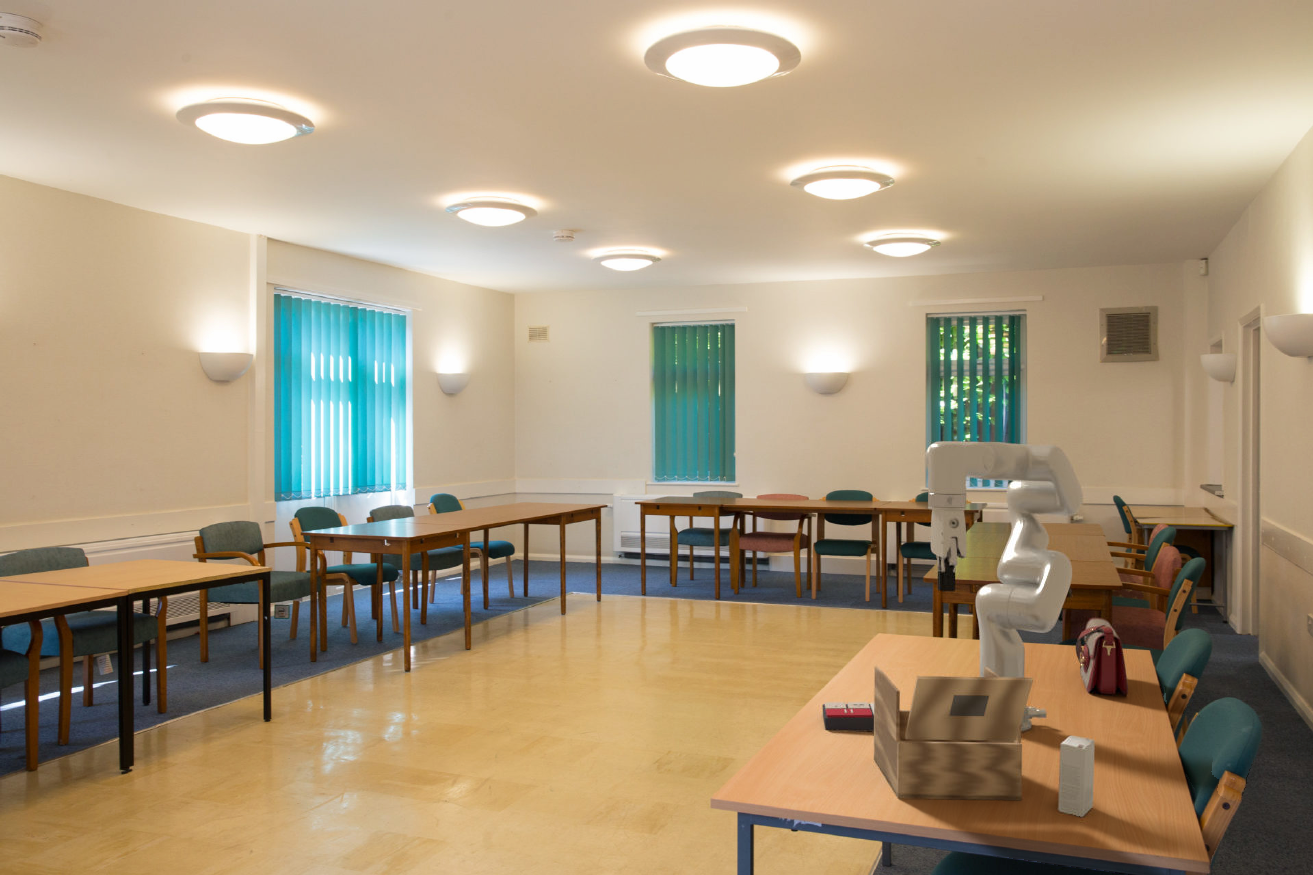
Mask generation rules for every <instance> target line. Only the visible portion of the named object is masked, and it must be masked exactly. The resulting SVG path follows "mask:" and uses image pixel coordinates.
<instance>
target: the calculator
mask: <svg viewBox="0 0 1313 875" xmlns="http://www.w3.org/2000/svg"><path fill="white" fill-rule="evenodd" d="M822 718H823V723H824V724H823V725H824V730H826V731H837V732H838V731H839V732H840V731H842V732H874V702H870V703H869V702H868V701H864V702H863V701H858V702H857V701H855V702H854V701H851V702H850V701H849V702H847V703H846V702H838V701H835V702H826V701H825V702H824V703H823V704H822Z"/></svg>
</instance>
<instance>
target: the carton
mask: <svg viewBox="0 0 1313 875" xmlns="http://www.w3.org/2000/svg"><path fill="white" fill-rule="evenodd" d="M984 677H1000V676H998V675H997V674H996V673H994V672H993V671H991V670H990V669H989V668H987V667H984ZM873 690H874V694H873V695H874V696H873V698H874V700H873V703H874V731H873V760H874V762H875V764H876V766H877V767H878V769H879V771H880V772H881V773H882V775H883V777H884V778H885V780H886V782H887V783H888V785H889V786H890V788H891V789H892V791H893V793H894V794H895V796H896V798H897V799H904V800H905V799H906V800H907V799H910V800H911V799H913V800H914V799H915V800H970V801H971V800H975V801H976V800H977V801H980V800H982V801H984V800H985V801H986V800H987V801H1022V794H1023V793H1022V788H1023V787H1022V785H1023V784H1022V782H1023V781H1022V779H1023V778H1022V777H1023V776H1022V775H1023V772H1022V770H1023V768H1022V767H1023V764H1022V763H1023V744H1022V732H1021V724H1020V728H1019V731H1018V735H1017V738H1016V741H1003V740H928V739H905V734H906V729H907V724H908V718H909V713H910V709H901V708H900V706H901V704H900V702H901V701H900V698H901V696H900V695H901V693H900V692H901V690H900V689H898V687H897V686H896V685H895V684H894V683H893V682H892V681H891V679H890V678H889V677H888V676H887V675H886V674H885V672H883V670H882V669H881V668H880V667H879V666H878V665H875V666H874V689H873Z"/></svg>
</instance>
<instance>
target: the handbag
mask: <svg viewBox="0 0 1313 875" xmlns="http://www.w3.org/2000/svg"><path fill="white" fill-rule="evenodd" d="M1082 639H1083V642H1084V643H1083V644H1084V645H1083V646H1082V643H1081V640H1082ZM1082 647H1083V648H1082ZM1075 654H1076V657H1077V660H1078V662H1079V665H1080V666H1079V669H1080V670H1079V673H1080V677H1081V679H1082V681H1083V684H1085V685H1084V687H1085V690H1086V692H1088V693H1090V692H1091V691H1092V690H1093V689H1094V688H1095V687H1096V689H1097V691H1098V693H1099V694H1102V695H1115V693H1116V692H1117V688H1118V689H1119V690H1120V691H1121V692H1122V693H1123V695H1124V696H1125V697H1127V696H1128V693H1129V685H1128V677H1127V676H1128V675H1127V669H1126V664H1125V663H1126V662H1125V655H1124V650H1123V645H1122V641H1121V638H1120V637H1119V636H1118V634H1117V633H1116V630H1115V629H1114V628H1113V627H1112V625H1111V624H1110V622H1109V621H1108V620H1106V619H1105V618H1100V617H1092V618H1090V619H1089V620H1088V621H1087V622H1086V624H1085V630H1083V631H1081V633H1080V635H1079V636H1078V638H1077V641H1076V643H1075Z"/></svg>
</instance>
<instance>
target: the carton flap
mask: <svg viewBox="0 0 1313 875" xmlns="http://www.w3.org/2000/svg"><path fill="white" fill-rule="evenodd" d="M1033 682H1034V679H1033V677H1024V678H1023V677H980V676H941V675H940V676H936V675H935V676H933V675H932V676H931V675H930V676H928V675H926V676H925V675H923V676H921V675H917V676H916V679H915V685H914V688H913V694H912V699H911V704H910V709H909V710H910V713H909V718H908V724H907V729H906V734H905V739H928V740H1003V741H1016V738H1017V735H1018V731H1019V728H1020V724H1021V721H1022V718H1023V714H1024V711H1025V707H1026V706H1027V703H1028V701H1029V700H1028V699H1029V697H1030V693H1031V690H1032V686H1033Z"/></svg>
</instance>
